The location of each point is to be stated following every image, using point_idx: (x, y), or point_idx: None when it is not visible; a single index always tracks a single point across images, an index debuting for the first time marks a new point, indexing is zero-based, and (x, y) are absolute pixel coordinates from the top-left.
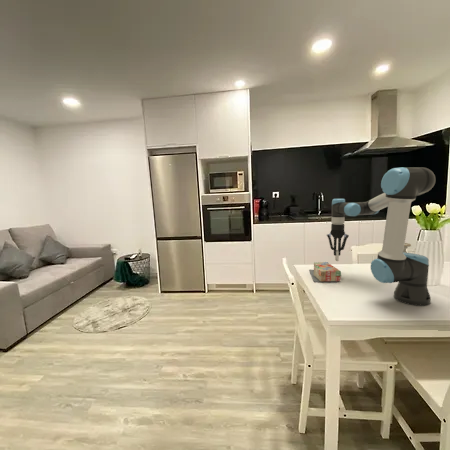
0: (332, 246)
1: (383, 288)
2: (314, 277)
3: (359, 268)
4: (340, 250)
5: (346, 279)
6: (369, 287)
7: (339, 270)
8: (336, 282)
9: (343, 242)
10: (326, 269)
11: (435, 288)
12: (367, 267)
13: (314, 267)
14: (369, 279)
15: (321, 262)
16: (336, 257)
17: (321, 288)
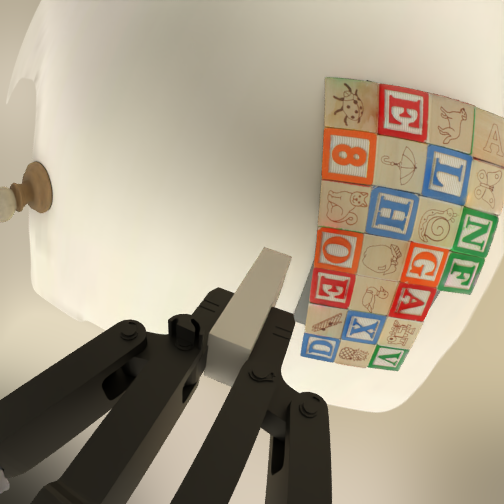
0: (296, 449)
1: (138, 4)
2: None
3: (133, 300)
4: (179, 321)
5: (260, 140)
6: (192, 2)
7: (326, 105)
8: (367, 80)
9: (50, 416)
10: (442, 163)
11: (24, 60)
12: (107, 299)
13: (474, 275)
14: (135, 132)
15: (347, 361)
16: (276, 280)
17: (490, 34)
